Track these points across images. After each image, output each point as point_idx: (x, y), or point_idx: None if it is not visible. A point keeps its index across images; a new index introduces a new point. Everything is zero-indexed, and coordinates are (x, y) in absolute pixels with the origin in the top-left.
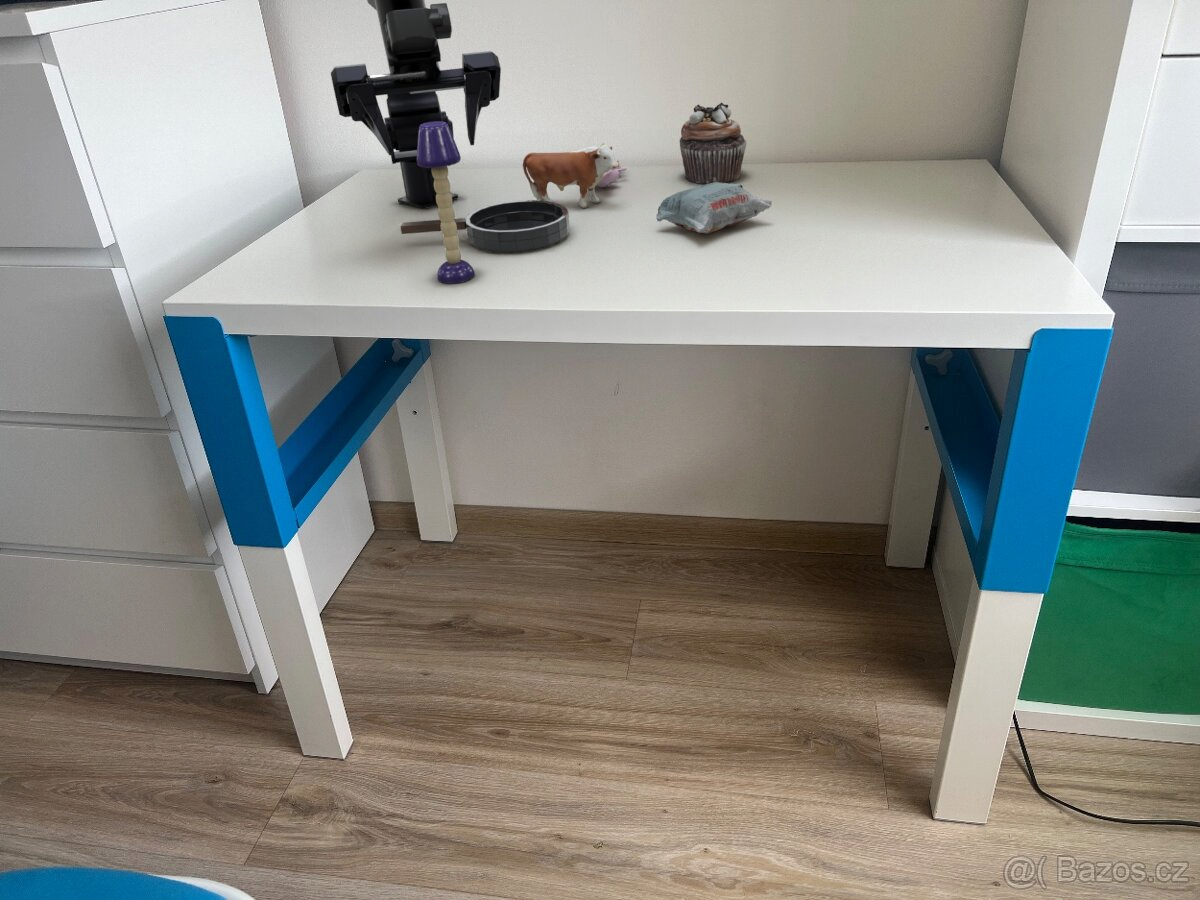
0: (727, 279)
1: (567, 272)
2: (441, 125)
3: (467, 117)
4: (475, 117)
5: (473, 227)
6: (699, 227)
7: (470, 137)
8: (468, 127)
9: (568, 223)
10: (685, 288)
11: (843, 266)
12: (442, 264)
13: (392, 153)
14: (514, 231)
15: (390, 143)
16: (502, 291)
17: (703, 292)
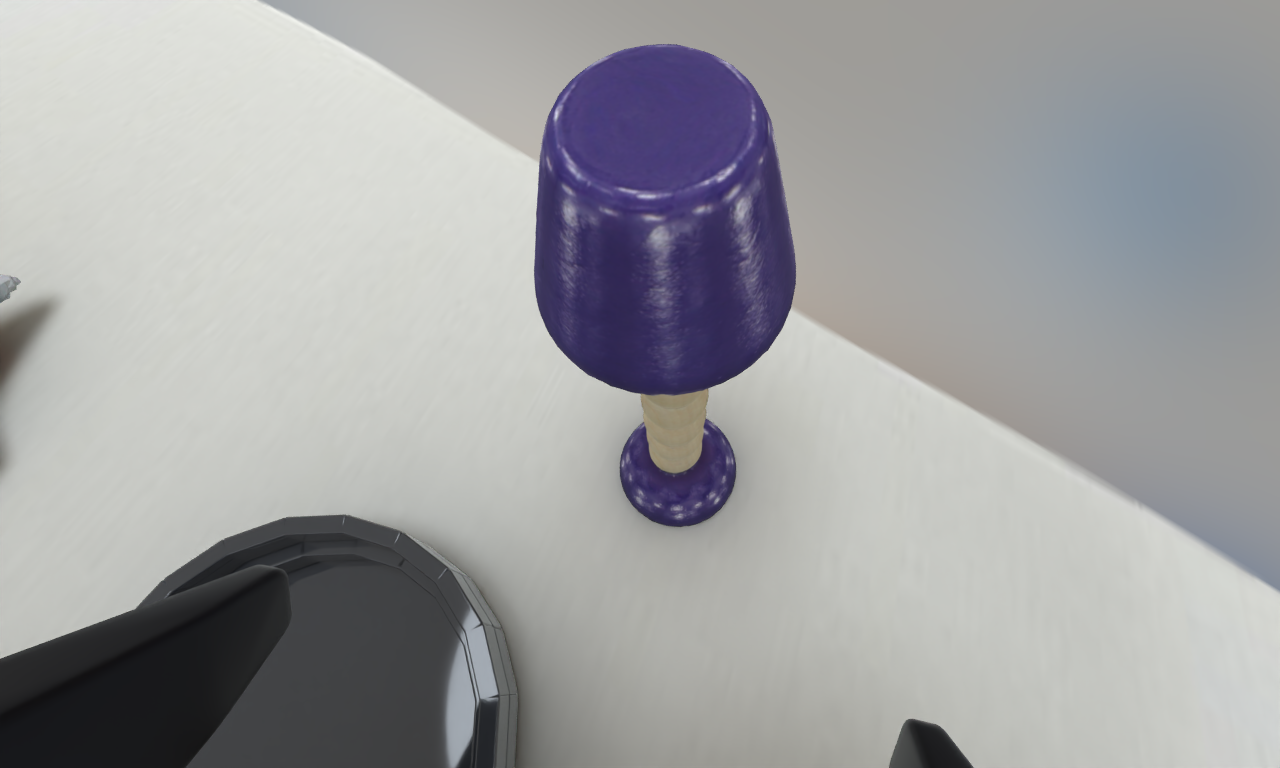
0: (197, 128)
1: (410, 331)
2: (619, 54)
3: (92, 677)
4: (37, 645)
5: (493, 698)
6: (1, 278)
7: (269, 572)
8: (196, 619)
9: None
10: (290, 130)
11: (8, 81)
12: (712, 473)
13: (894, 750)
14: (401, 533)
15: (925, 757)
16: None
17: (282, 102)
